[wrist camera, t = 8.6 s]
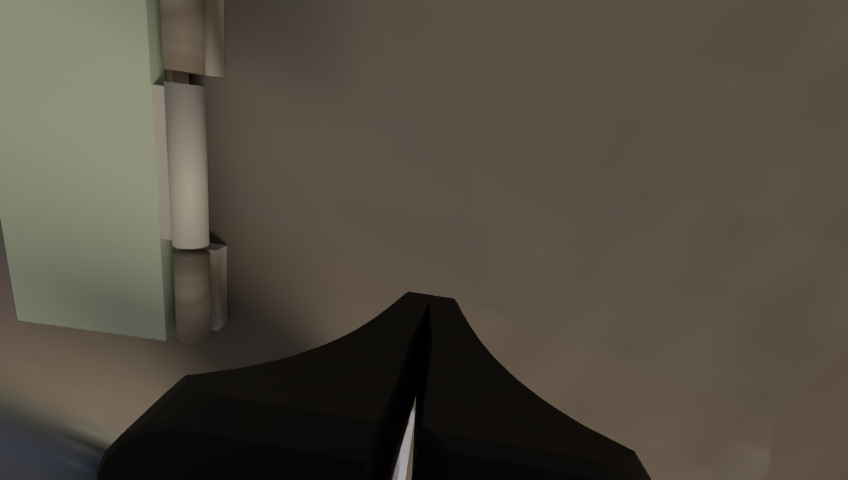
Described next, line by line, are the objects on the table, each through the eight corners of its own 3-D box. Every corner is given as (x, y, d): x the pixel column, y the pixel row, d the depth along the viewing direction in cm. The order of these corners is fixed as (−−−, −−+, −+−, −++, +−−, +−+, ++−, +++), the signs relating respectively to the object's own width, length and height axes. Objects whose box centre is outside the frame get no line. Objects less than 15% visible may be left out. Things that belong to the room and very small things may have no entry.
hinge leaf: (217, 333, 23) (201, 349, 21) (41, 309, 23) (12, 323, 21) (210, -46, 17) (187, -62, 16) (-18, -75, 18) (-62, -93, 16)
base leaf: (227, 325, 24) (200, 349, 21) (39, 295, 24) (-10, 315, 22) (223, -37, 18) (186, -62, 16) (-16, -65, 19) (-88, -93, 16)
